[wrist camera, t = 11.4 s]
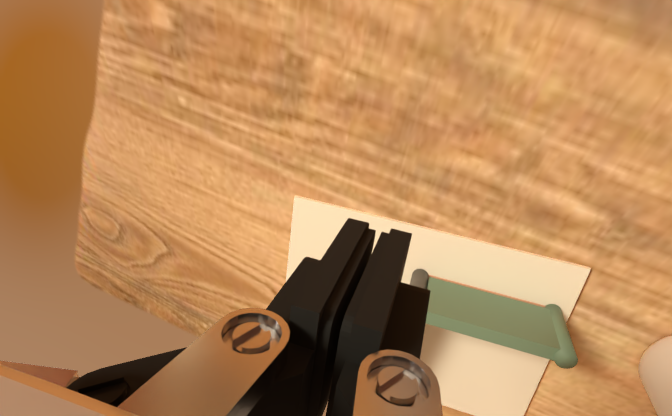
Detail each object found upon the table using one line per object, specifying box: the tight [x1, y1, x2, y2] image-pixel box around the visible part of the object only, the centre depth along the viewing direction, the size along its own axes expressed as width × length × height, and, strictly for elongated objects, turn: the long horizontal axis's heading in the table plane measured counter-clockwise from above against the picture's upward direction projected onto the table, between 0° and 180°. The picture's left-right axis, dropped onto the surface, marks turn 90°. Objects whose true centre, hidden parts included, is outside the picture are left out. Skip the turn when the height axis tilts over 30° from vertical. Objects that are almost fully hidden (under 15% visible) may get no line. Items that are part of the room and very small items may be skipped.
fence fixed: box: [410, 269, 578, 368], centre depth 37 cm, size 14×2×7 cm, turn 82°
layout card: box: [286, 195, 591, 416], centre depth 43 cm, size 27×20×1 cm
